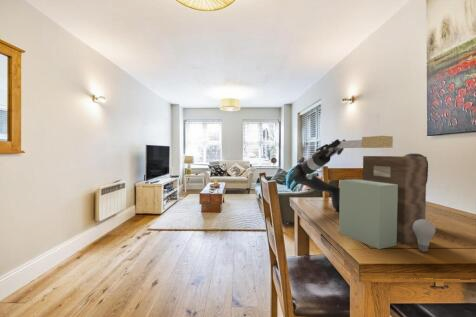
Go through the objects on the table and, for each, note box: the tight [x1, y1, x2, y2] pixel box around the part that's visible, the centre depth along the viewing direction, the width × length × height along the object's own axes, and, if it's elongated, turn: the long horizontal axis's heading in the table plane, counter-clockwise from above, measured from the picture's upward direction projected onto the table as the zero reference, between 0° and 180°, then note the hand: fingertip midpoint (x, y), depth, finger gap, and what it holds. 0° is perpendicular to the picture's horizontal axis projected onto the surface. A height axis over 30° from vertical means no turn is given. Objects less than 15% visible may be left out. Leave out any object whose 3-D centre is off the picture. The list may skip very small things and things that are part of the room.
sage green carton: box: [338, 178, 398, 250], centre depth 92 cm, size 9×18×22 cm, turn 22°
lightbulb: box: [412, 219, 436, 253], centre depth 80 cm, size 6×6×11 cm
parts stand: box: [362, 155, 428, 245], centre depth 97 cm, size 12×18×32 cm
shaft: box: [331, 135, 394, 149], centre depth 95 cm, size 6×25×4 cm, turn 22°
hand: (341, 141), depth 103 cm, fingers closed on shaft, 3 cm apart
